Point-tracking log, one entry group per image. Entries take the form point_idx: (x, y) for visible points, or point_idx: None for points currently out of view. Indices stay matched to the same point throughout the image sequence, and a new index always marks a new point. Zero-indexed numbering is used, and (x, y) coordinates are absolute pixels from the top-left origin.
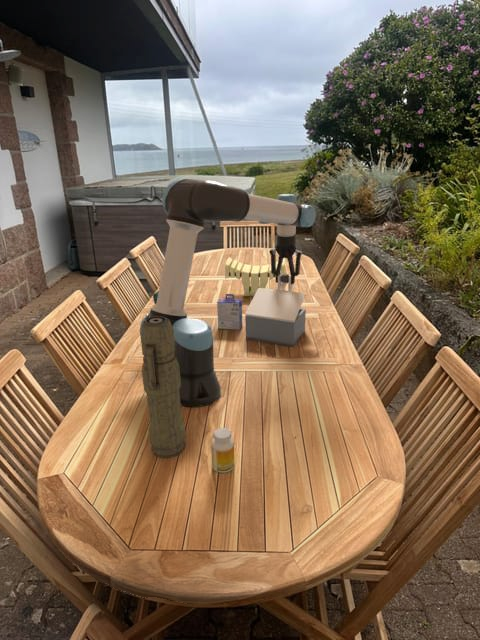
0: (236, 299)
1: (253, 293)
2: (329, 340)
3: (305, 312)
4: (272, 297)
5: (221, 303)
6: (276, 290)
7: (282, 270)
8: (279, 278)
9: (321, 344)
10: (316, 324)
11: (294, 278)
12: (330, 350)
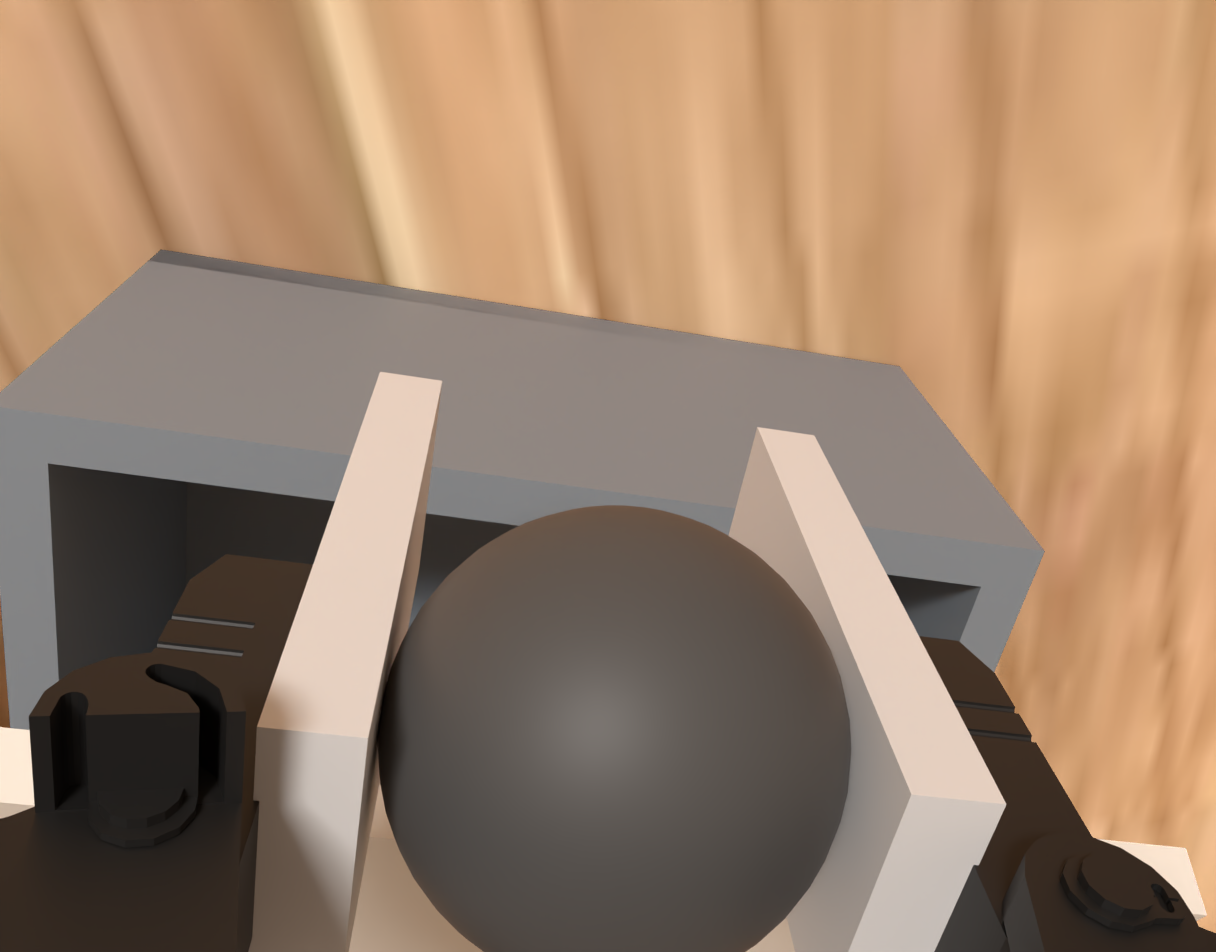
0: None
1: None
2: (1197, 568)
3: (1013, 526)
4: (357, 948)
5: None
6: (381, 851)
7: None
8: (355, 902)
9: (1080, 683)
10: (1112, 27)
11: (1055, 829)
12: (1153, 787)
